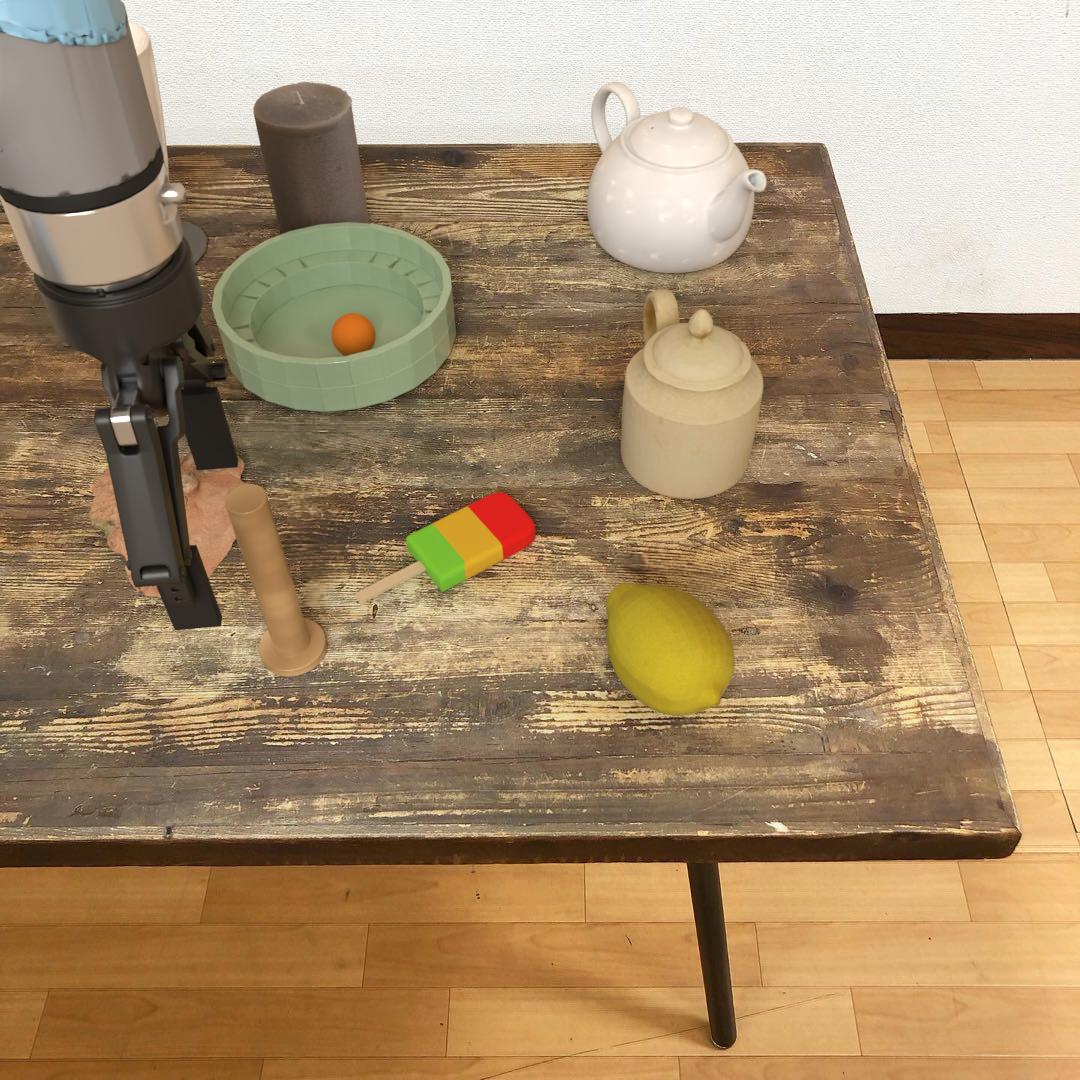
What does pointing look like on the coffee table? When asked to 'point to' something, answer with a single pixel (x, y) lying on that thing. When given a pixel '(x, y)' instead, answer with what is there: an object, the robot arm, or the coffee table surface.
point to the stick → (273, 586)
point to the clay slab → (202, 512)
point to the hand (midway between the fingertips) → (209, 539)
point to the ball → (353, 334)
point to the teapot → (668, 188)
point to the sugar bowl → (688, 404)
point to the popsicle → (463, 544)
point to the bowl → (335, 315)
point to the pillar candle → (311, 155)
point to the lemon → (668, 648)
